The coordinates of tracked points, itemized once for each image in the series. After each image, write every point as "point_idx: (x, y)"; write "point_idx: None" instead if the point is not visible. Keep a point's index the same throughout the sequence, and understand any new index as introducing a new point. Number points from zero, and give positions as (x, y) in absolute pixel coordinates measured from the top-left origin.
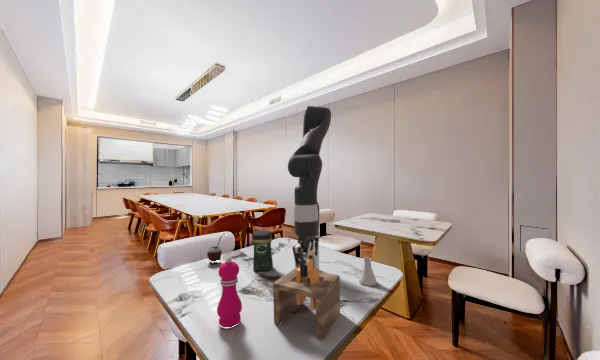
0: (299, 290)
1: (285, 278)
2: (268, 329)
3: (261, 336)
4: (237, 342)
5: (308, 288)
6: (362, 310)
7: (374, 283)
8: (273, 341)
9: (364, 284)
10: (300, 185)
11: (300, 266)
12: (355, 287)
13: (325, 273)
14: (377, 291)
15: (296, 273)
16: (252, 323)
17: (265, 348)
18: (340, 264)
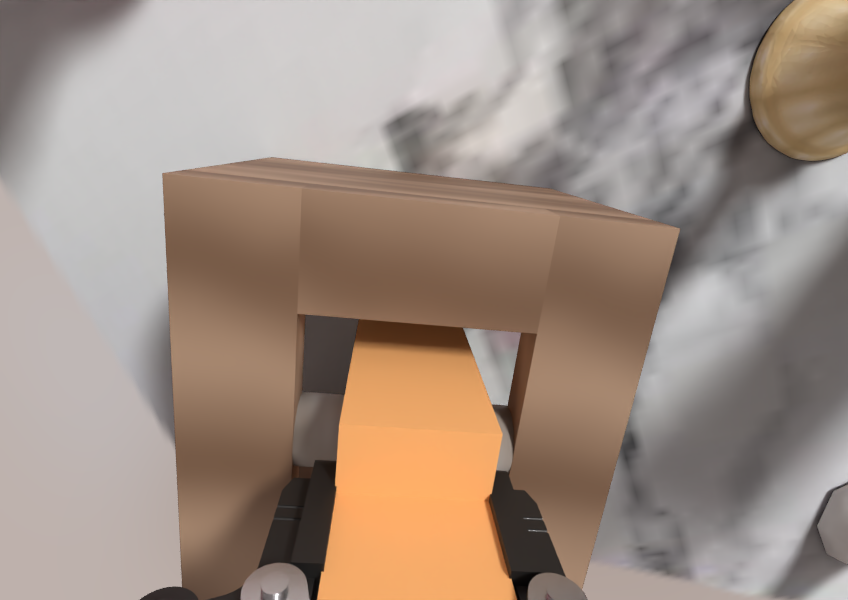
0: (180, 465)
1: (334, 249)
2: (206, 155)
3: (135, 149)
4: (15, 37)
5: (232, 525)
6: None
7: (837, 558)
8: (138, 234)
9: (829, 508)
10: None
11: (261, 566)
12: (794, 465)
13: (579, 548)
14: (760, 565)
15: (343, 407)
16: (204, 16)
17: (73, 221)
18: None
